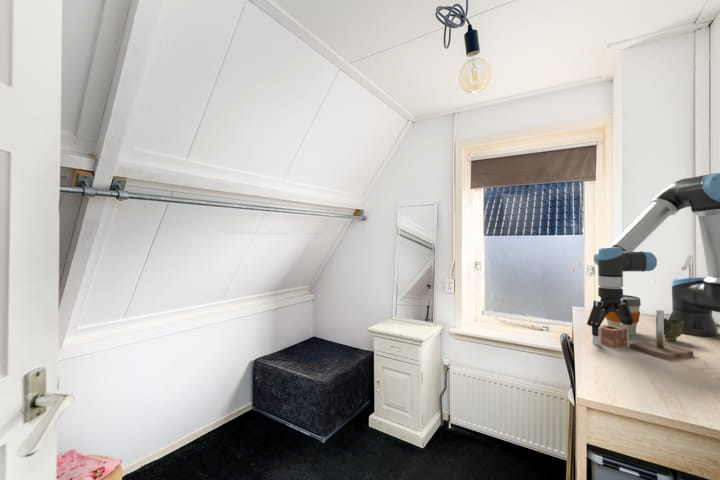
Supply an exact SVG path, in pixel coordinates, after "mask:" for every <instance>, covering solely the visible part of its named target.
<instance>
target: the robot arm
mask: <svg viewBox="0 0 720 480" xmlns="http://www.w3.org/2000/svg"><path fill="white" fill-rule="evenodd" d="M689 207H690V209H691V213H692V214H695V215H696V216H698V217H697V218H698V224H699V229H700V230H699V231H700V235H701V240H702V241H701V242H702V246H703V253H704V259H705V266H706V271H707V276H703V277H702V276H701V277H700V276H699V277H697V276H696V277H692V276H691V277H674V278H673V279H672V283H671V297H672V299H671V303H672V311H671V313H670V315H669V317H668V320H669V319H671V320H673V319H676V320H679V322H682V321H683V322H684V324H683V330H682V334H685V335H691V336H701V337H702V336H703V337H715V336H718V335H719V330H718V329H719V328H718V326H717V324H716V322H715V320H714V318H713V314H712V312H715V313H718V314H719V313H720V172H716V173H715V172H714V173H709V174H703V175H698V176H694V177H687V178H682V179H679V180H677V181H675V182H672V183H671V184H669V185H667V186H666V187H665V188H664V189H662V190H661V191H660V192H659V193H658V194H656V195H655V196H654V197H653V199H651V200H650V201H649V206H648V207H647V208H646V209H645V210H644V211H643V212H642V213H641V214H640V215H639V216H638V217H637V218H636V219H635V220H634V221H633V222H632V223H631V224H630V225H629V226H628V227H627V228H626V229H625V230H624V231H623V232H622V233H621V234H620V235H619V236H618V237H617V238H616V239H615V240H614V241H613V242H612V243H611V244H610V245H608V246H601V247H599V248H598V250H597V251H596V252H595V253H594V255H593V262H594V263H595V265H597V271H598V272H597V273H598V275H597V276H598V277H597V278H598V283H597V284H598V288H597V289H598V291H597V296H598V297H599V298H600V300H593V305H592V309H591V311H590V314H589V317H588V319H587V322H586V325H587V326H590V327H591V335H592V344H595V345H597V346H602V343H601V328H599V327H600V325H602V323H603V322H604V320H605V319H606V315H607V314H609V312H615V314H616V315H617V316H618V318H619V319H620V321H621V322H622V323H623V324H622V323H620V328H624V329H627V343H629V337H630V336H629V335H628V332H629V325H632V323H633V322H634V320H633V318H632V315H631V312H630V310H629V307H628V304H627V300H626V299H621V298H623V295H624V289H623V287H624V272H642V273H644V272H651V271H653V270H655V269H656V267H657V266H658V265H657V263H658V260H657V257H656V255H654V253H652V252H650V251H635V250H636V249H638V247H639V246H640V245H641V244H642V243H643V242H644V241H645V240H646V239H648V238H649V236H650V235H651V234H652V233H653V232H654V231H655V230H656V229H658V227H660V226H661V224H662V223H664V221H665V220H667V219H668V217H670V216H674V215H676V214H677V213H678V212H679V211H680V210H683V209H685V208H689ZM628 318H629V319H628Z"/></svg>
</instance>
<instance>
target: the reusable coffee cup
mask: <svg viewBox="0 0 720 480" xmlns="http://www.w3.org/2000/svg"><path fill="white" fill-rule="evenodd" d="M621 299H626V300H627V304H628V307H629V310H630V312H631V315H632V318H633V320H634V322H633V323H632V325H629V332H628V336H633V335H636V332H637V327H638V323H639V321H640V315H641V311H640V307H641V306H642V305H641V298H640V297H638V296H635V295H629V294H623V298H621ZM605 319H606V321H607V325H612V326H616V327H620V323H622V322H621V321H620V319H619V318H618V316H617V315H616V314H615V312H609V314H607V315H606V317H605ZM628 319H629V318H628ZM622 324H623V323H622Z"/></svg>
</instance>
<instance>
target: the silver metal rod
mask: <svg viewBox="0 0 720 480" xmlns="http://www.w3.org/2000/svg"><path fill="white" fill-rule="evenodd" d="M664 317H665V311H664V310H661V309H656V310H655V335H656V336H655V341H656V347H657V348H664V344H665V338H664V319H665V318H664Z"/></svg>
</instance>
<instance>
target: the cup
mask: <svg viewBox="0 0 720 480" xmlns="http://www.w3.org/2000/svg"><path fill="white" fill-rule="evenodd" d="M683 324H684V322H683V321H682V322H679V320H676V319H673V320H671V319H669V318H668V319H667V317H665V318H664V341H665V340H666V341H669V342H676V341H677V340H678V338H679V337H680V336H681V335H682V334H683V333H682V330H683Z"/></svg>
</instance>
